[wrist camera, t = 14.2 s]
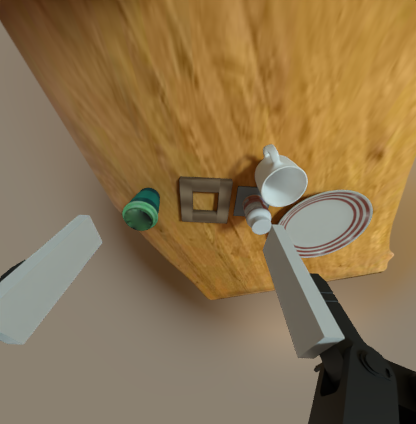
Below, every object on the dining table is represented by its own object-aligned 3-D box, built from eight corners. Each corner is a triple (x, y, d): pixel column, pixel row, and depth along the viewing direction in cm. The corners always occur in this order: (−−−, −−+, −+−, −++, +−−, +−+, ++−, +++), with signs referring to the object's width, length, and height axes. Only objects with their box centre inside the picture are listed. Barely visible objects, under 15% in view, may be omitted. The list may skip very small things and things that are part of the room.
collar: (180, 176, 43) (179, 179, 41) (231, 179, 43) (232, 182, 41) (183, 217, 51) (182, 221, 50) (226, 219, 51) (226, 223, 50)
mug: (287, 175, 42) (310, 198, 32) (255, 187, 44) (267, 212, 35) (279, 130, 36) (304, 142, 26) (242, 147, 38) (251, 164, 29)
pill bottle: (264, 209, 48) (275, 234, 39) (243, 213, 49) (250, 238, 40) (262, 191, 45) (275, 215, 36) (240, 196, 46) (247, 220, 37)
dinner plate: (380, 218, 50) (390, 225, 47) (302, 261, 62) (306, 268, 60) (335, 164, 40) (344, 169, 38) (254, 227, 53) (256, 234, 50)
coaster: (238, 186, 44) (238, 186, 44) (273, 187, 44) (274, 188, 44) (233, 214, 50) (233, 215, 50) (265, 216, 50) (265, 217, 50)
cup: (135, 183, 45) (113, 207, 35) (163, 181, 44) (149, 205, 34) (144, 207, 49) (127, 234, 40) (169, 206, 49) (159, 232, 39)
